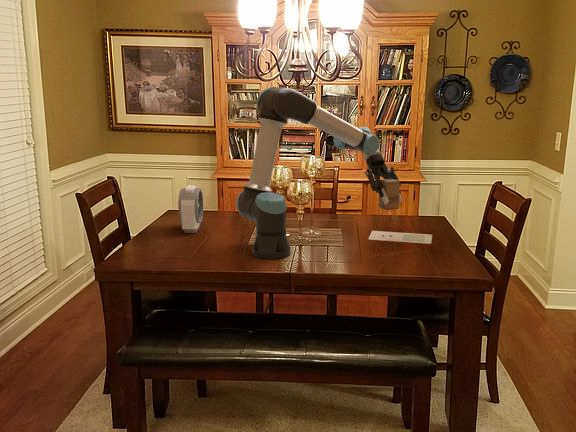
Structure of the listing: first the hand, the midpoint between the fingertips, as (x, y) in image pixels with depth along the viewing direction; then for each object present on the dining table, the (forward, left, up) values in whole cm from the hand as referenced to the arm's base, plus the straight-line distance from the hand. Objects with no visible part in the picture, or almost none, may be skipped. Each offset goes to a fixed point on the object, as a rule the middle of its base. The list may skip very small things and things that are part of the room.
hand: (393, 202), depth 244 cm
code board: (+3, -3, -16) cm, 17 cm away
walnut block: (+3, +2, -3) cm, 5 cm away
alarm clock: (-6, +89, -16) cm, 91 cm away
